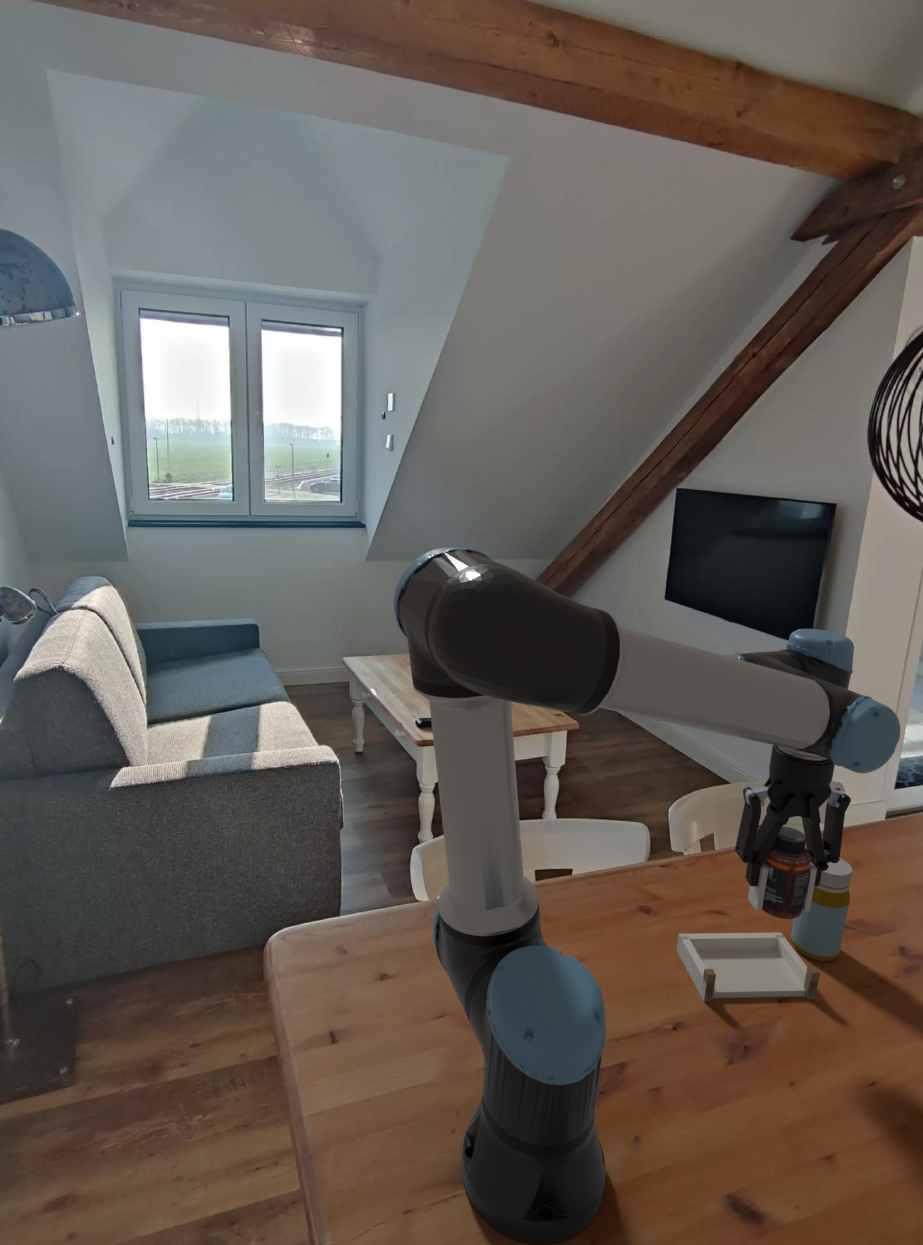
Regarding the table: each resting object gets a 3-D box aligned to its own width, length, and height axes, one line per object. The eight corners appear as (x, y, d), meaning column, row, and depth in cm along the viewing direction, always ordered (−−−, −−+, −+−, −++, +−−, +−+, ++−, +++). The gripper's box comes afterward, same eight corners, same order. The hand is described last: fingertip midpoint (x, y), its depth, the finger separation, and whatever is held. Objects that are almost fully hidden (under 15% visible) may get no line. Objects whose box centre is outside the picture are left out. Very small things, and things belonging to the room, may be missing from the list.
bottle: (780, 939, 117) (794, 855, 114) (812, 930, 120) (827, 848, 117) (815, 968, 111) (832, 880, 108) (848, 957, 114) (866, 871, 110)
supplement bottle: (805, 905, 102) (819, 831, 99) (797, 927, 97) (810, 851, 94) (760, 889, 105) (772, 817, 102) (750, 910, 100) (761, 835, 97)
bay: (814, 999, 105) (819, 973, 104) (703, 1001, 103) (707, 975, 102) (778, 949, 115) (782, 924, 114) (676, 950, 114) (679, 925, 113)
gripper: (858, 738, 99) (830, 888, 105) (721, 736, 98) (700, 888, 104) (892, 762, 92) (860, 922, 98) (744, 760, 91) (721, 922, 97)
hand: (778, 904), depth 101 cm, fingers closed on supplement bottle, 6 cm apart
